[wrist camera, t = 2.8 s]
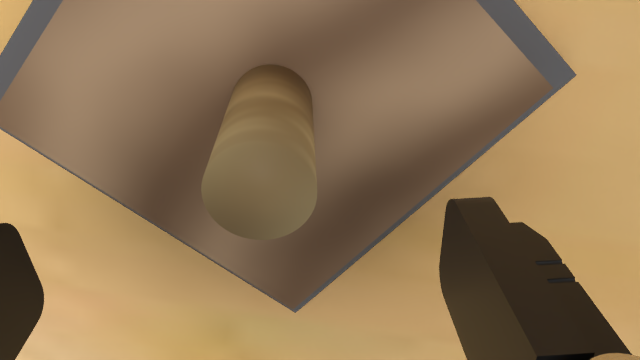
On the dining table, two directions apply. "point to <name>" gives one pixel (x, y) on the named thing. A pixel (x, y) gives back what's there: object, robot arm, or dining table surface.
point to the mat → (552, 68)
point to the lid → (270, 117)
